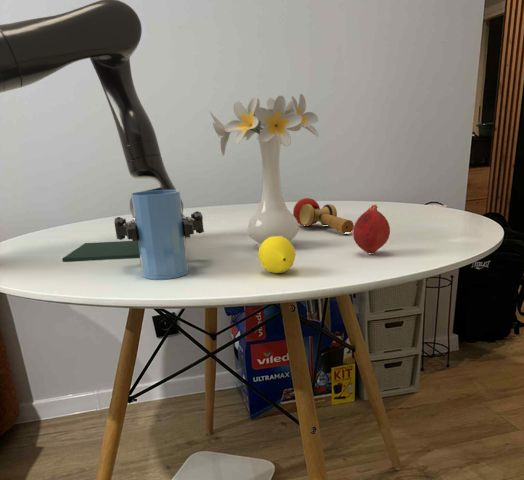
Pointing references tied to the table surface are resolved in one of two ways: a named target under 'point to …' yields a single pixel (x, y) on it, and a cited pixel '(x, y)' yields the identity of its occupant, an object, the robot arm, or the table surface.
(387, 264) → the table surface
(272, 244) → the lemon
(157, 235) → the tumbler
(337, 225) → the kendama
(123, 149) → the robot arm
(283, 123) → the flower vase
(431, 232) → the table surface
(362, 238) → the onion
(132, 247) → the mat
